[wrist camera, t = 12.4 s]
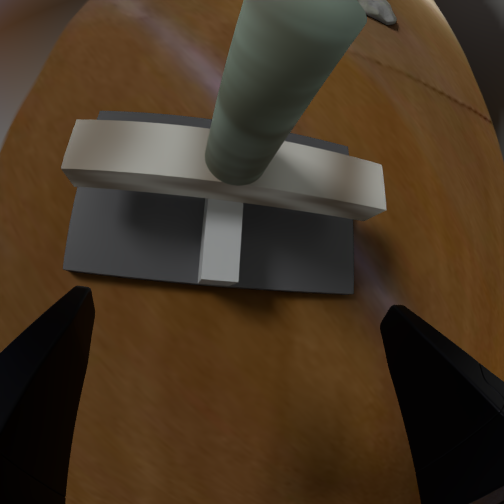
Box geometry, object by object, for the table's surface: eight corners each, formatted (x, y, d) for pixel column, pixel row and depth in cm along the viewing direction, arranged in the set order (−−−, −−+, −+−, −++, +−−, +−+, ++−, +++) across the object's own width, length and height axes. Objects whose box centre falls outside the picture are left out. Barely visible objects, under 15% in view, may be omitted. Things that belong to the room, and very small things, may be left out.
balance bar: (361, 178, 20) (499, 77, 8) (364, 222, 19) (525, 139, 7) (87, 140, 16) (28, -33, 4) (73, 188, 15) (-28, 25, 3)
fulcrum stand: (346, 294, 22) (377, 290, 19) (67, 270, 18) (45, 261, 14) (342, 152, 25) (366, 129, 21) (102, 118, 20) (92, 86, 17)
